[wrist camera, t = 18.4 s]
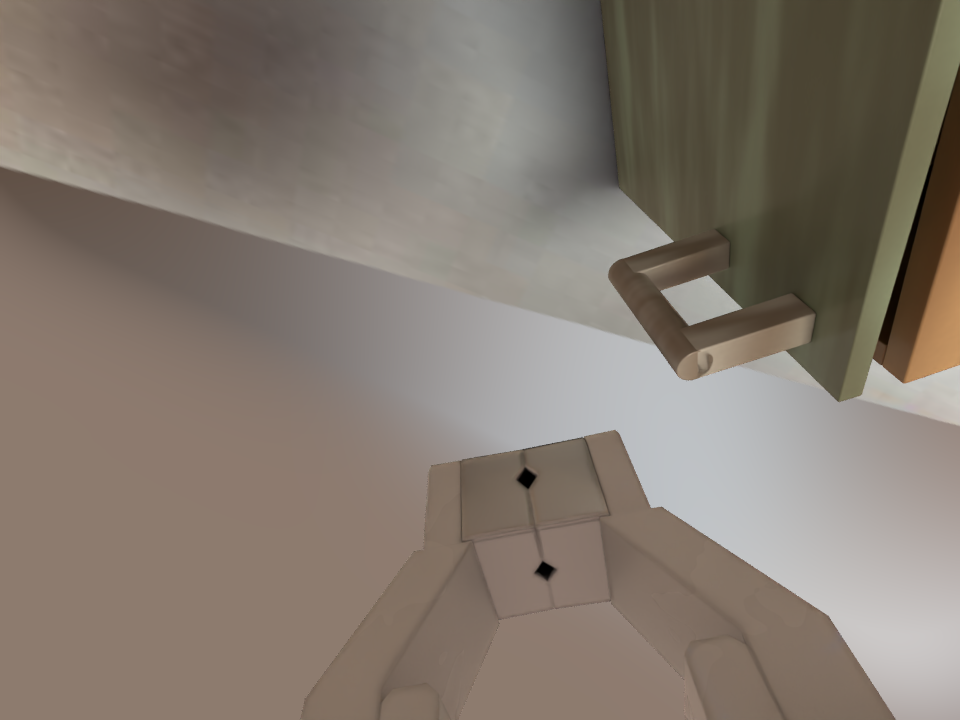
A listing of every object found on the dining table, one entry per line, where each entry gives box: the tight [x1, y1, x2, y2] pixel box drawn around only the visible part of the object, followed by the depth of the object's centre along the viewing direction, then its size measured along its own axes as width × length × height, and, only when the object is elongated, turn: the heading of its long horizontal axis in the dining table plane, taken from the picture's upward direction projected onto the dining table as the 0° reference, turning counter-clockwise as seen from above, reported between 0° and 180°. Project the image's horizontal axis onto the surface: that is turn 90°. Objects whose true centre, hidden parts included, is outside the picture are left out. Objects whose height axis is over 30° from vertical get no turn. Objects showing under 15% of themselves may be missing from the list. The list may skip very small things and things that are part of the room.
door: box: [600, 0, 960, 402], centre depth 22 cm, size 7×26×24 cm, turn 16°
